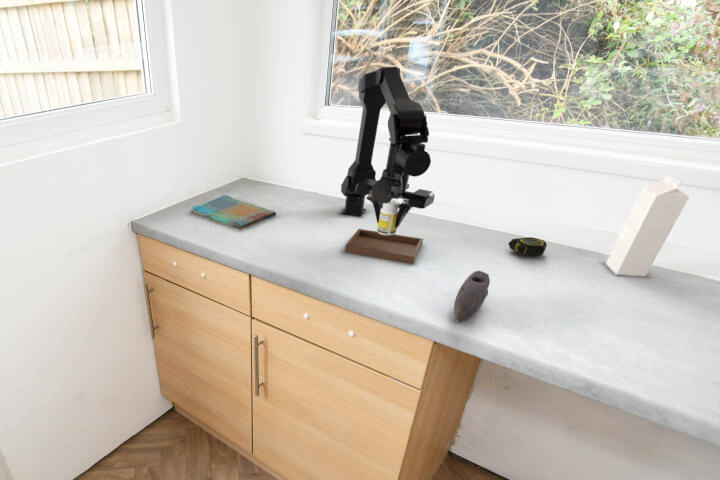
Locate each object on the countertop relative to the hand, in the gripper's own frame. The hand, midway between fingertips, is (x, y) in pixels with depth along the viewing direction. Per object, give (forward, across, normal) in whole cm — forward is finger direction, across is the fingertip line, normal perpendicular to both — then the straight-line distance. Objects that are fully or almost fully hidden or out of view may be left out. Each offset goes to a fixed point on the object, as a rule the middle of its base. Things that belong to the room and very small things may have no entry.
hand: (387, 225), depth 125 cm
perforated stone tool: (+7, +29, -18) cm, 35 cm away
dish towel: (+7, -50, -6) cm, 51 cm away
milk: (+7, +50, +24) cm, 56 cm away
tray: (+7, 0, 0) cm, 7 cm away
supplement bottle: (+2, 0, 0) cm, 2 cm away
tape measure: (+7, +29, +20) cm, 36 cm away
